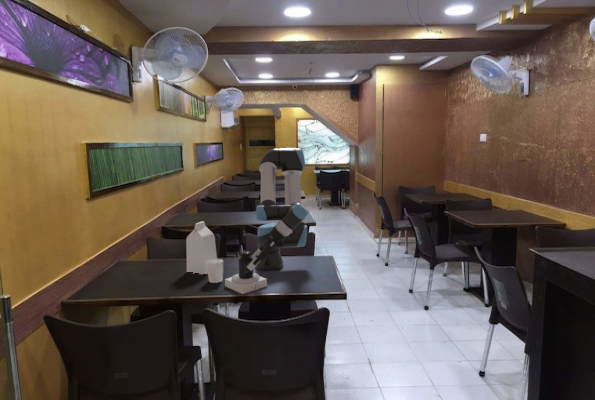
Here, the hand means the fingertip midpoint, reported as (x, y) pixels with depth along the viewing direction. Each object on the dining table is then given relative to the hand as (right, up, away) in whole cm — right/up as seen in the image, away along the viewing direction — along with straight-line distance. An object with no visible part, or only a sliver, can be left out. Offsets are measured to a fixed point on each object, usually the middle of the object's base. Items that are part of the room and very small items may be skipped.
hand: (250, 264), depth 190 cm
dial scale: (-2, -11, +2) cm, 11 cm away
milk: (-29, -8, +28) cm, 41 cm away
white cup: (-18, -10, +11) cm, 23 cm away
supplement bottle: (-2, -6, +1) cm, 7 cm away
